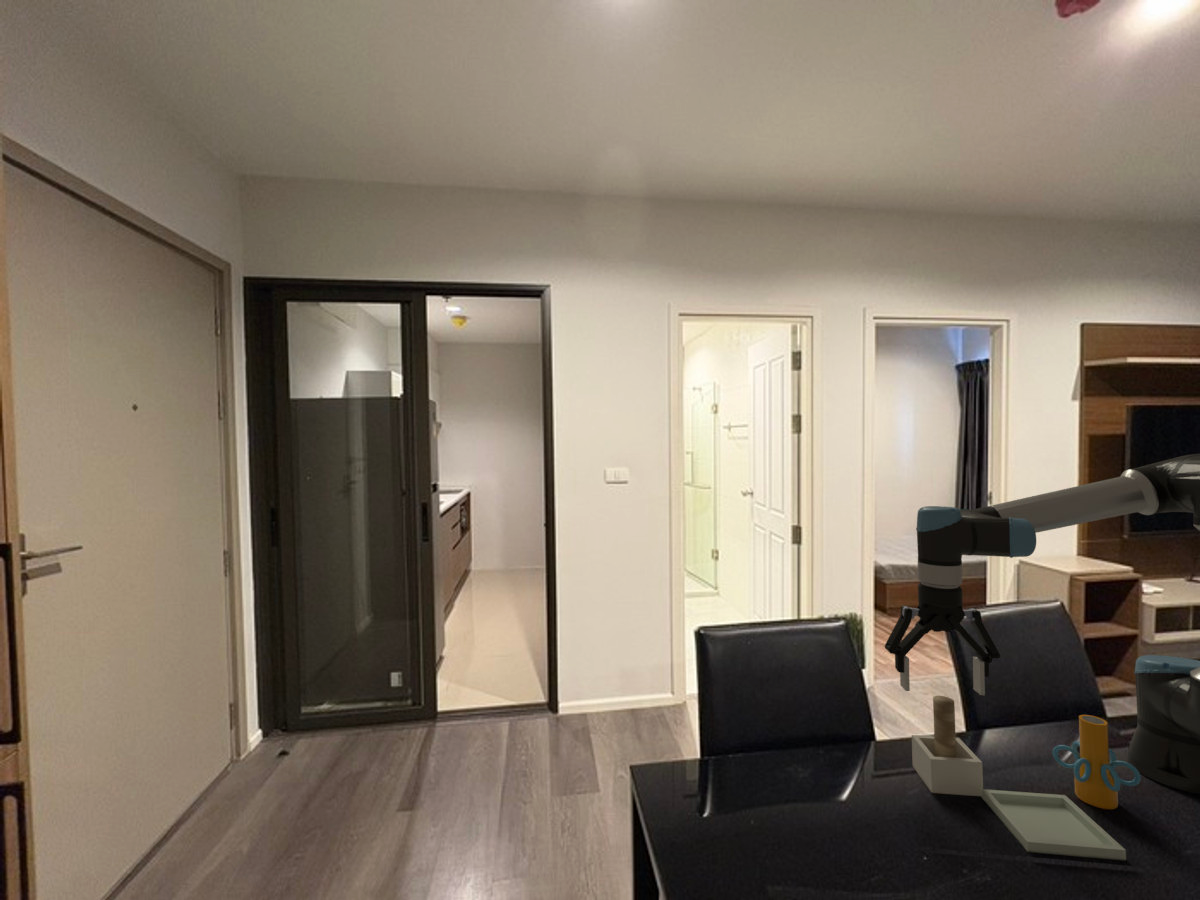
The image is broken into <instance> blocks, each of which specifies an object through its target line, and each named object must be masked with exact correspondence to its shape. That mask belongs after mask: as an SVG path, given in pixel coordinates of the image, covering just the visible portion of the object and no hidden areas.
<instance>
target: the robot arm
mask: <svg viewBox="0 0 1200 900" xmlns="http://www.w3.org/2000/svg"><path fill="white" fill-rule="evenodd" d="M1172 512H1173V513H1174V512H1175V513H1193V527H1194V528H1195V529H1197V530H1198V531H1199V532H1200V453H1193V454H1186V455H1181V456H1178V457H1174V458H1168V459H1165V460H1162V461H1157V462H1153V463H1151V464H1150V463H1149V464H1145V465H1142V466H1139V467H1135V468H1129V469H1126V470H1124V471H1123V472H1122V473H1121V474H1120V476H1117V477H1113V478H1107V479H1104V480H1100V481H1095V482H1090V483H1085V484H1082V485H1077V486H1073V487H1067V488H1064V489H1059V490H1055V491H1054V490H1053V491H1050V492H1045V493H1041V494H1038V495H1037V494H1036V495H1032V496H1027V497H1023V498H1018V499H1014V500H1011V501H1010V500H1009V501H1005V502H1001V503H997V504H991V505H988V506H982V507H979V508H973V509H968V508H966V509H965V508H961V509H960V508H958V507H953V506H942V505H941V506H939V505H936V506H935V505H934V506H933V505H932V506H931V505H929V506H928V505H927V506H923V507H920V508H919V509H918V511H917V516H916V543H917V545H916V546H917V579H918V581H919V583H918V584H917V595H918V596H917V600H918V606H917V608H915V607H908V606H907V605H902V606H901V608H900V616H899V618H898V620H897V622H896V624H895V625H894V627H893V629H892V631H891V633H890V634H889V637H888V639H886V640H887V641H886V643H885V644H884V649H885V650H886V651H887V652H888V653H889V654H891V655H892V654H893V655H894V661H895V662H894V667H895V670H896V672H898V673H899V677H900V678H899V681H900V682H899V683H900V687H901V688H902V689H903V690H904V691H905V692H910V691H911V690H910V684H911V683H910V658H909V657H908V655H907V654H908V653H909V652H911V650H912V649H913V648H914V647H915V646H916V645H917V643H919V642H920V640H921V639H922V638H923V637H924V636H925V635H926V634H929V633H930V632H931V631H933V632H934V633H935V632H936V633H938V632H946V633H952V632H953V631H954V632H955V633H956V634H958V636H959V637H960V638H961V639H962V640H963V641H964V642H965V643H966V645H968V647H969V648H971V650H972V651H973V652H974V653H975V655H976V656H972V680H973V690H974V691H975V692H976V693H978V695H980V696H986V685H985V684H986V683H985V679H986V678H988V677H989V676H990V664H991V663H992V662H993V659H1000V657H1001V653H1000V651H998V647H996V645H995V642H994V641H993V639H992V638H991V636H990V634H989V632H988V630H987V629H986V627H985V625H984V623H983V620H982V613H981V611H980V610H977V609H975V608H974V607H968V609H963V588H962V587H961V585H962V584H963V567H962V566H963V560H962V557H963V556H979V557H981V556H982V557H983V556H984V557H987V556H988V557H1005V558H1007V557H1008V558H1010V559H1011V558H1022V557H1023V558H1024V557H1025V558H1028V557H1029V556H1031V555H1033V554H1034V552H1035V550H1036V547H1037V533H1041V532H1047V531H1051V530H1055V529H1062V528H1066V527H1069V526H1076V525H1080V524H1085V523H1090V522H1095V521H1100V520H1106V519H1110V518H1115V517H1120V516H1124V515H1129V514H1135V513H1139V514H1141V515H1144V516H1151V515H1155V514H1161V513H1172ZM916 616H918V618H919V620H918V621H917V622H915V625H914V627H913V628H912V629H911V630H910V631H909V632H908V633H907V634H906V632H907V630H908V629H909V627H910V625H911V622H912V620H913V619H914V618H916ZM965 618H966V619H967V620H968V621H969V622H970V624H971V626H972V628H973V630H974V631H975V633H976V635H977V636H978V638H979V640H980V642H981V643H982V646H983V647H984V649H985V650H984V649H983V648H982V647H981V645H979V643H978V642H977V641H976V640H975V639H974V638H973V637H972V635H971V634H969V633H968V631H967V630H966V629H965V627H963V625H962V624H961V622H962V621H963V620H964V619H965ZM904 636H905V637H904ZM1133 672H1134V675H1135V696H1136V697H1135V698H1136V715H1137V716H1136V718H1137V724H1136V725H1137V726H1136V728H1135V730H1134V733H1133V736H1132V738H1131V740H1130V743H1129V745H1128V746H1127V747H1126V756H1127V757H1126V759H1127V761H1126V762H1127V763H1129V764H1131V765H1133V766H1134V767H1135V768H1136V769H1137V770H1138V772H1139V773H1140V775H1141V774H1142V775H1143V776H1144V777H1147V778H1149V779H1151V780H1152V781H1155V782H1158V783H1160V784H1162V785H1165V786H1166V787H1167V786H1168V787H1170V788H1173V789H1176V790H1179V791H1183V792H1186V793H1191V794H1195V795H1200V660H1198V659H1192V658H1185V657H1180V656H1171V655H1156V654H1155V655H1154V654H1149V655H1148V654H1147V655H1146V654H1145V655H1141V656H1139V657H1138V658H1137V659H1136V660H1135V667H1134V671H1133Z"/></svg>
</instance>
